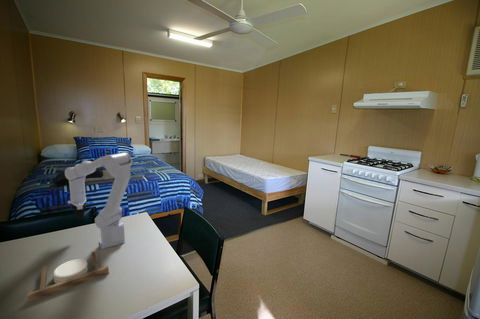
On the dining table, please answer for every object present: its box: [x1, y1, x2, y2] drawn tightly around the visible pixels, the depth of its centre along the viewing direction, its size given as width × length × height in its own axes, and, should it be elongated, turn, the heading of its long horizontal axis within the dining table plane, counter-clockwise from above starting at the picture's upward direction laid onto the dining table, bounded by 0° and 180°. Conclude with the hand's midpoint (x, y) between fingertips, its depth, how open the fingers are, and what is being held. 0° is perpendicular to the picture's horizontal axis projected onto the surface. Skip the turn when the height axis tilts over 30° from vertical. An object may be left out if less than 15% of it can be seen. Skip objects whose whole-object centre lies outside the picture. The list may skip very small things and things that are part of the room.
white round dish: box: [52, 258, 89, 284], centre depth 79 cm, size 10×10×4 cm
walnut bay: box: [26, 251, 110, 303], centre depth 79 cm, size 22×14×2 cm, turn 130°
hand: (80, 218), depth 103 cm, fingers closed
